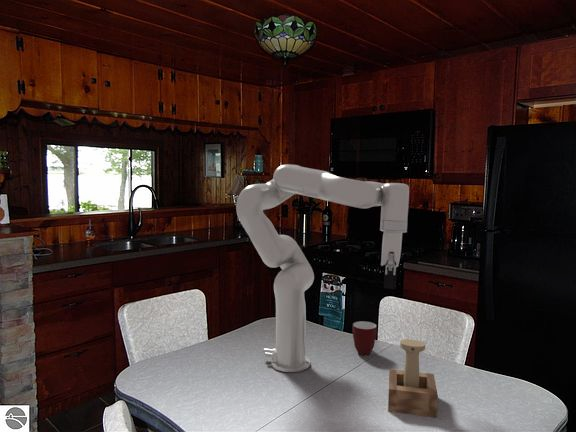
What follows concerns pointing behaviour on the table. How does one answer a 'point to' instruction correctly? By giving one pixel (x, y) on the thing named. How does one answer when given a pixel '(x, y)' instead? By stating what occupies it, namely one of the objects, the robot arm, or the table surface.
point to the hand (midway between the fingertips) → (390, 284)
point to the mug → (364, 337)
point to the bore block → (412, 395)
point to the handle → (412, 361)
